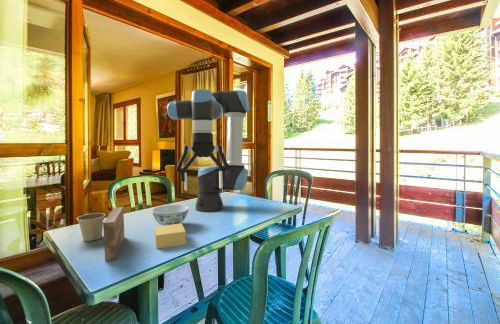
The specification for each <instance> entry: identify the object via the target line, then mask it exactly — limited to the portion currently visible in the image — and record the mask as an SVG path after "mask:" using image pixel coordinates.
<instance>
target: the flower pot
mask: <svg viewBox="0 0 500 324" xmlns="http://www.w3.org/2000/svg"><path fill="white" fill-rule="evenodd" d="M105 217H106V214H105V213H102V212H94V213H86V214H83V215H80V216H78V217H76V220H77V222H78V224H79V227H80V231H81V236H82V240H83V241H84V242H93V241H94V240H97V241H98V240H99V239H101V238H102V237H103V231H104V230H103V222H104V221H105Z"/></svg>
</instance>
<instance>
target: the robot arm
mask: <svg viewBox="0 0 500 324" xmlns="http://www.w3.org/2000/svg"><path fill="white" fill-rule="evenodd" d="M166 112H167V115H168V117H169V118H170V119H171V120H177V121H178V120H192V122H191V125H192V130H191V131H192V132H193V133H192V135H191V136H192V144H191V146H189V145H184V146H183V153H181V156H180V159H179V162H178V163H177V165H176V168H175V170H176V172H179V173H180V178H181V179H180V180H181V182H184V183H183V185H184V186H183V187H184V191H185V192H186V191H188V173H187V172H186V171H187V170H188V169H189V167H190V166H191V164H192V163H193V162H194V161H195V159H196V158H197V157H198V158H209V157H210V159H211V160H212V161H213V162H214V163H215V165H211V166H206V167H200V168H199V169H198V172H197V184H198V185H197V186H198V189H197V191H198V194H197V195H198V196H197V199H196V202H195V211H198V212H205V213H207V212H208V213H210V212H211V213H212V212H218V211H221V210H223V209H224V202H223V199H222V196H221V191H243V190H244V189H245V187H246V185H247V182H248V175H249V174H248V172H249V171H248V169H247V168H245V164H244V162H243V137H244V135H243V131H244V129H243V128H244V118H246V116H247V113H249V112H250V101H249V97H248V94H247V92H246V91H245V90H224V91H223V90H220V91H213V92H212V91H211V90H210V89H206V88H205V89H203V88H201V89H199V88H196V89H193V90H192V92H191V99H186V100H185V99H184V100H174V101H169V102H168V104H167V107H166ZM223 114H224V116H225V118H227V119H226V121H227V122H226V148H225V149H226V153H225V155H224V152H223V147H222V145H214V134H213V131H214V128H213V127H214V126H213V125H214V123H213V122H214V121H213V120H218V119H219V118H221V117H222V116H223ZM191 150H192V152H193V154H192V155H191V157H190V158H189V159H188V160H187V162H186V163H185V164H184V165H183V163H184V161H185V159H186V157H187V155H188V153H189V152H190V151H191ZM214 151H216V152H217V153H218V156H219V157H220V160H221V162H220V161H219V160H218V158H217V157H216V156H215V155H214V154H213V152H214ZM182 165H183V167H182Z"/></svg>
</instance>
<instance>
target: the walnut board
mask: <svg viewBox="0 0 500 324" xmlns="http://www.w3.org/2000/svg"><path fill="white" fill-rule="evenodd" d="M102 231H103V247H104V262H105V261H106V262H108V261H113V260H114V261H115V260H117V258H118V256H119V255H118V254H119V252H120V250H121V247H122V244H123V243H124V240H125V216H124V206H117V207H114V208H113V209H112V210H111V211H110V213H109V214H108V215H107V217H106V218H105V219H104V220H103V230H102Z"/></svg>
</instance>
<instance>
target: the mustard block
mask: <svg viewBox="0 0 500 324" xmlns="http://www.w3.org/2000/svg"><path fill="white" fill-rule="evenodd" d="M186 233H187V231H186V230H185V227H184V226H183V222H181V223H180V224H173V225H165V226H163V225H158V226H154V241H155V249H164V248H170V247H177V246H183V245H184V244H185V245H187V240H186V239H187V236H186V235H187V234H186Z"/></svg>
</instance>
